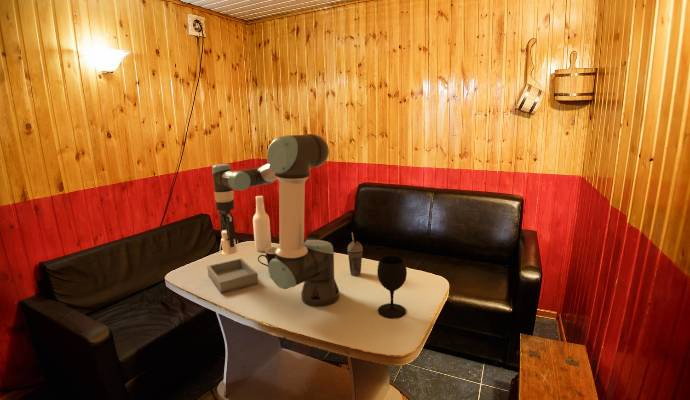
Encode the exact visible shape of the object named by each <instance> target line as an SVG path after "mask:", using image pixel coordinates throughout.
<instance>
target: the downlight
mask: <svg viewBox="0 0 690 400" xmlns="http://www.w3.org/2000/svg"><path fill="white" fill-rule="evenodd" d="M220 232H221V231H220ZM226 239H228V236H227V230H223V231H222V232H221V239H220V245H219V252H220V253H221V255H223V256H224V255H225V256H229V255H231V254H229V251H228V241H227V240H226ZM234 242H235V253H234V254H236V253H238V251H239V249H238V246H239V239H237V244H236V239H234ZM221 249H222V250H221Z"/></svg>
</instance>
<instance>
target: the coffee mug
mask: <svg viewBox="0 0 690 400" xmlns="http://www.w3.org/2000/svg"><path fill="white" fill-rule="evenodd" d="M277 247H278V246H277ZM277 247H271V248H270V249H267V250H266V251H265V252H264V253H265V254H261V255H258V257H257V262H259V264H261V265H264V266H266V267H268V264H269V262H270V261H271V260H272V259H275V249H276V248H277ZM260 257H265V259H266V262H267V264H266V263H264V262H262V261H261V260H260Z"/></svg>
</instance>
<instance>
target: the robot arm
mask: <svg viewBox="0 0 690 400" xmlns="http://www.w3.org/2000/svg"><path fill="white" fill-rule="evenodd" d="M266 152H267V154H266V160H267V163H266V164H263V165H261V166H259V167H255V168H248V169H247V168H245V169H240V170H232V167H231V165H230V164H229V163H221V164H220V163H218V164H214V165H212V170H211V171H212V174H211V175H212V180H213V181H212V182H213V190H214V201H215V210H216V211H217V212H218V214H219V226H220V232H222V231H223V230H227V236H228V239H226V240H227V241H228V251H229V254H230V255H233V254H236V253H235V242H236V241H235V242H234V239H235V240H236V239H237V237H236V229H235V223H234V221H235V220H234V216H233V214H232V213H231V211H233V210H234V209H235V200H234V194H235V191H245V190H247V189H248V188H253V187H257V186H263V185H265V186H266V185H270V184H273V183H275V181H276V180H278V183H279V184H278V186H279V188H278V189H279V193H278V194H279V195H278V197H279V198H278V199H279V200H278V201H279V202H278V204H279V205H278V206H279V208H278V209H279V210H278V211H279V213H278V214H279V218H278V219H279V225H278V226H279V234H278V235H279V240H278V241H279V245H278V246H277V248H276V247H275V248H276V249H275V259H272V260H271V261H270V262H269V264H268V263H267V265H268V266H267V268H268V274H269V276H270V278H271V280H272V281H273V282H274V284H275V285H276V286H277V287H278V288H280V289H283V290H287V289H291V288H294V287H296V286H298V285H300V284H302V283H303V285H302V289H301V292H300V293H301V294H300V295H301V297H300V298H301V301H302V303H304V304H306V305H308V306H312V307H325V306H329V305H332V304H334V303H336V302H337V301H338V300H339V299H340V290H339V287H338V284H337V282H336V279H335V255H334V254H335V252H334V246H333V244H332V243H331V242H329V241H326V240H322V239H320V240H319V239H312V240H306V241H305V202H306V201H305V198H306V197H305V196H306V195H305V189H306V187H305V186H306V181H307V180H308V179H309V178H310V169H314V168H317V167H322V165H324V164H325V163H326V161H327V160H328V158H329V155H330V148H329V145H328V143H327V141H326V140H325V139H324V138H323V137H321V136H320V135H317V134H313V133H312V134H311V133H310V134H309V133H308V134H292V135H291V134H290V135H287V134H286V135H283V136H282V135H281V136H278V137H275V138H274V139H273V140H272V141H271V142H270V144H269V145H268V149H267V151H266ZM233 190H235V191H233Z"/></svg>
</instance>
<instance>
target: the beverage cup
mask: <svg viewBox="0 0 690 400" xmlns="http://www.w3.org/2000/svg"><path fill="white" fill-rule="evenodd" d="M351 238H352V241H351V242H350V243H349V244H348V246H347V250H346V252H347V255H348V263H349V273H350V275H351V276H352V277H360V276H361V272H362V258H363V252H364V249H363V245H362V243H360V242H359V241H355V239H354V238H355V237H354V233H353V232H351Z"/></svg>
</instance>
